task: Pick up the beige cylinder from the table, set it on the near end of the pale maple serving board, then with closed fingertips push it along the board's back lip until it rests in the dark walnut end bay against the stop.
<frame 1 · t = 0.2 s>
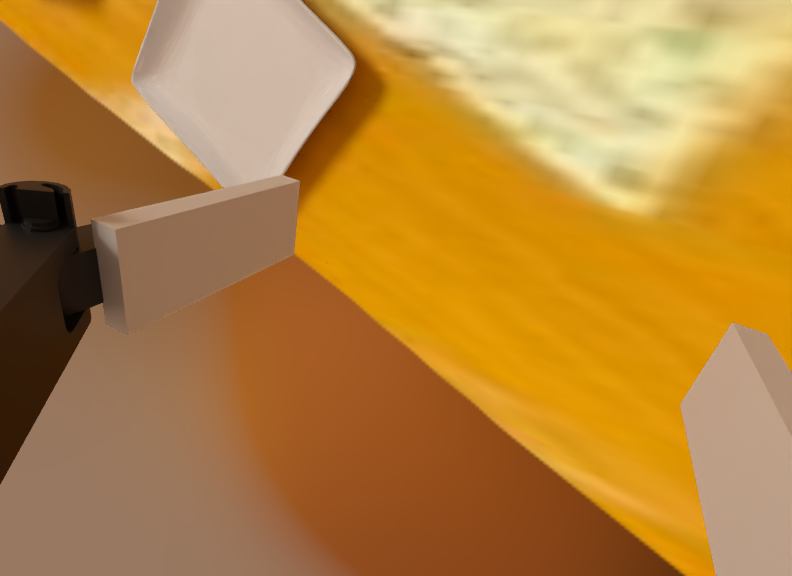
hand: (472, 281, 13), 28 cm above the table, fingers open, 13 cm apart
salad plate: (251, 75, 47), on the table
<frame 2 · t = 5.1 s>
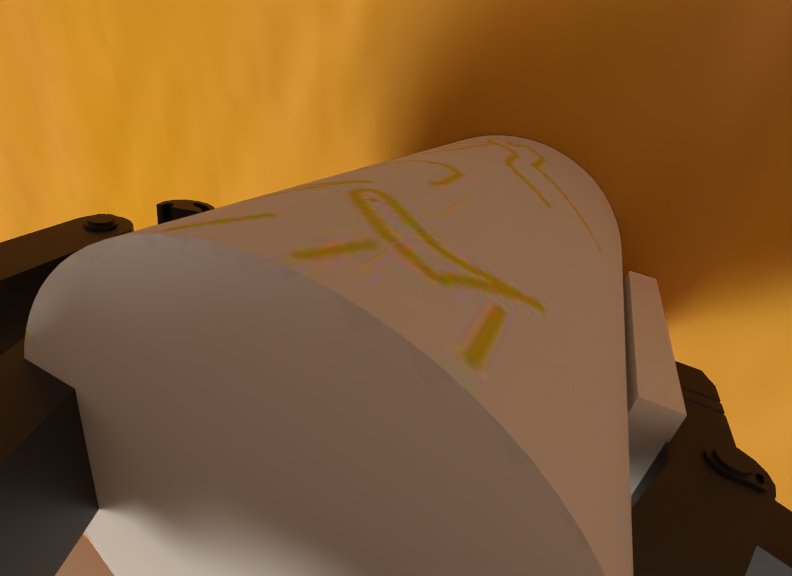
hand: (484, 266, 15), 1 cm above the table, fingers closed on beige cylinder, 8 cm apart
beige cylinder: (491, 257, 16), on the table, touching gripper
when the fingers open (4 cm above the table, at t = 10.8 s): beige cylinder drops 1 cm, resting on rail board.
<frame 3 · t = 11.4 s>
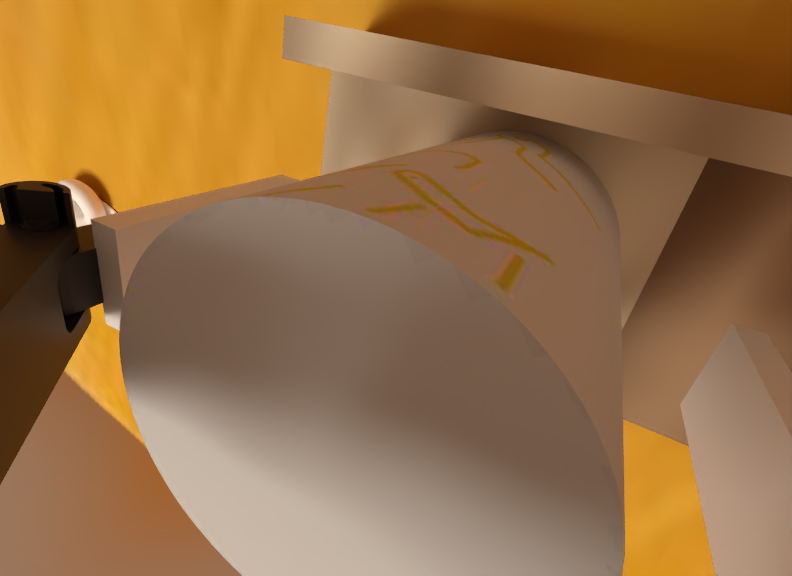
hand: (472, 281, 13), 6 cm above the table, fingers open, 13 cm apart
beige cylinder: (499, 244, 17), point 2 cm above the table, touching rail board
rail board: (616, 253, 17), on the table
teacup and saucer: (135, 236, 30), on the table
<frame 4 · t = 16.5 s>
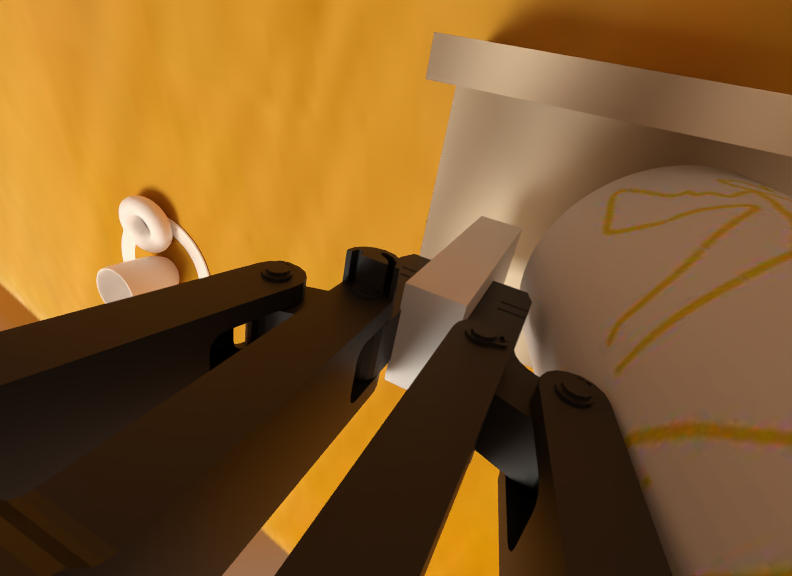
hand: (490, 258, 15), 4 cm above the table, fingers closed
beige cylinder: (648, 292, 14), point 3 cm above the table, touching gripper, hand, rail board
rail board: (768, 284, 15), on the table
teacup and saucer: (201, 254, 28), on the table
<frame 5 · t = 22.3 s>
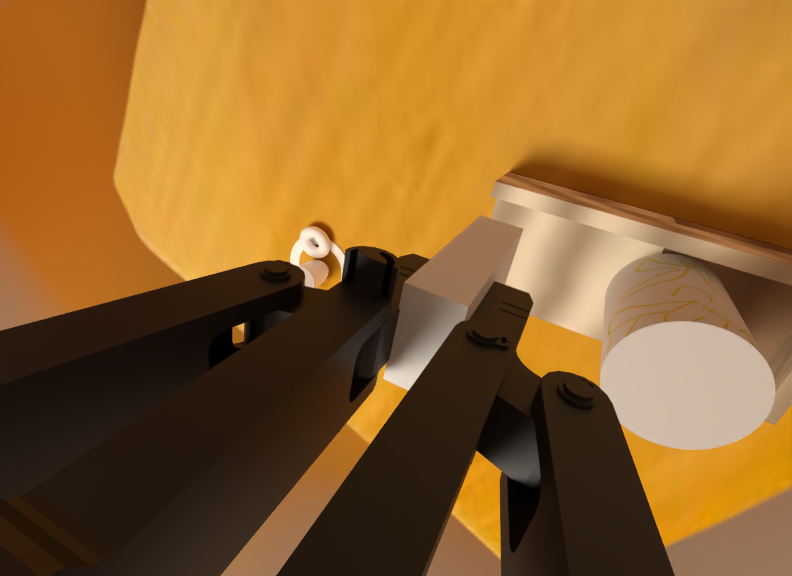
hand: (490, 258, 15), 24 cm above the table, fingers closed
beige cylinder: (661, 302, 35), point 2 cm above the table, touching rail board
rail board: (629, 276, 37), on the table
teacup and saucer: (343, 259, 49), on the table
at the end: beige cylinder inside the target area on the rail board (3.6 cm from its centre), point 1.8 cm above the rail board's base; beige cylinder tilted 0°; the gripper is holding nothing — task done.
